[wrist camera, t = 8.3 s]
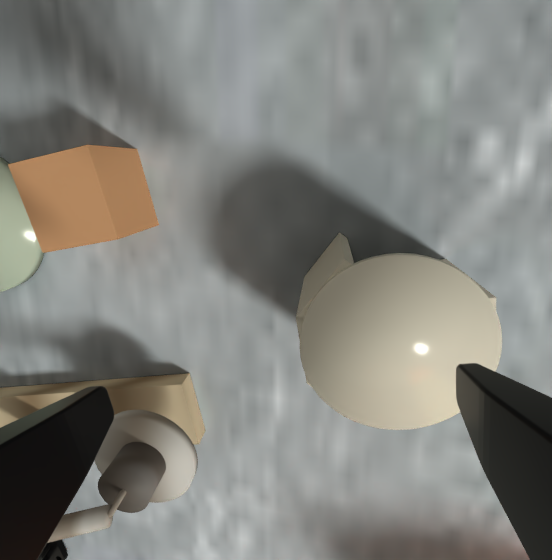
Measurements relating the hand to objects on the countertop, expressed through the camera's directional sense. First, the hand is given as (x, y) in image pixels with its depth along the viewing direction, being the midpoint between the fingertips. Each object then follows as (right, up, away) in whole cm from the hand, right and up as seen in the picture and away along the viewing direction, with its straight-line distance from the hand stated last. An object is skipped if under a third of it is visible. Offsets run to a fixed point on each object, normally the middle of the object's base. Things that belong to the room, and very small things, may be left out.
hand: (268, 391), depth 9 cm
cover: (+6, +2, +10) cm, 11 cm away
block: (-9, +8, +10) cm, 15 cm away
